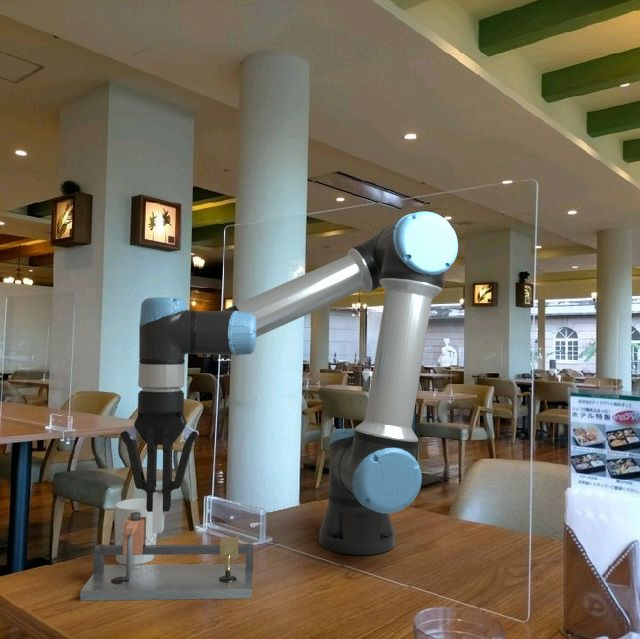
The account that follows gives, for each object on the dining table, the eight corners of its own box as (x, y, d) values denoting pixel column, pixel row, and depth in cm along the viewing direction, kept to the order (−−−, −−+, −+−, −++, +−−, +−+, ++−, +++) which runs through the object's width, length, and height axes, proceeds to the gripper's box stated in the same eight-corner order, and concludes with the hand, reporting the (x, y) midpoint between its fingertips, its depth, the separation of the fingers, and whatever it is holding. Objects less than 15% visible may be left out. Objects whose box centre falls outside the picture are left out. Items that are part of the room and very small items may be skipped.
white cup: (145, 568, 109) (146, 510, 110) (104, 564, 111) (106, 507, 111) (165, 553, 117) (166, 500, 117) (126, 550, 119) (128, 497, 119)
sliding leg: (144, 565, 105) (146, 510, 106) (136, 580, 99) (138, 522, 99) (126, 565, 105) (128, 510, 106) (117, 580, 99) (119, 522, 99)
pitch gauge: (252, 572, 108) (253, 534, 109) (251, 598, 97) (252, 555, 98) (99, 574, 106) (100, 534, 106) (80, 600, 95) (81, 556, 95)
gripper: (202, 388, 110) (199, 523, 109) (126, 387, 108) (123, 524, 107) (198, 391, 102) (195, 537, 101) (116, 390, 101) (112, 538, 100)
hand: (158, 530), depth 104 cm, fingers closed
